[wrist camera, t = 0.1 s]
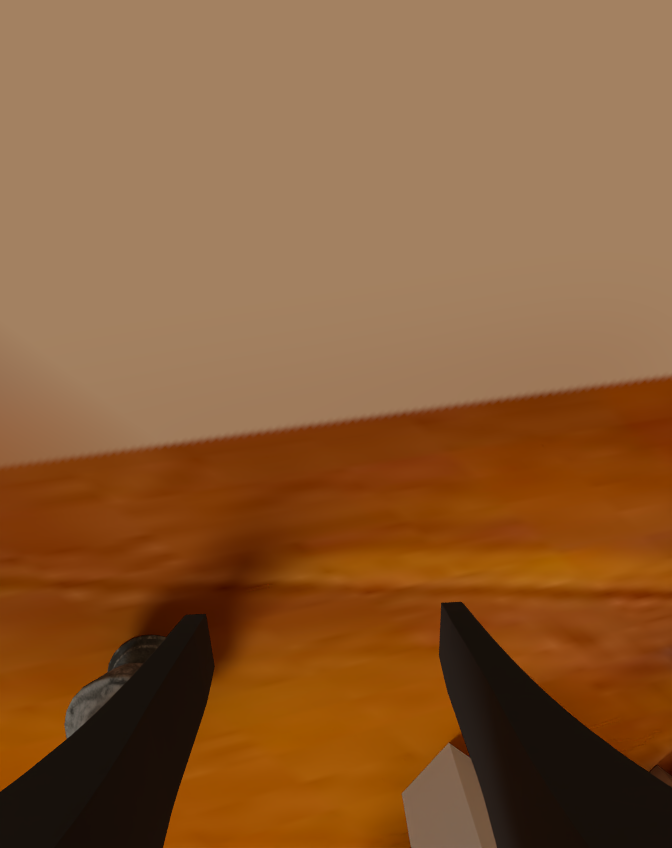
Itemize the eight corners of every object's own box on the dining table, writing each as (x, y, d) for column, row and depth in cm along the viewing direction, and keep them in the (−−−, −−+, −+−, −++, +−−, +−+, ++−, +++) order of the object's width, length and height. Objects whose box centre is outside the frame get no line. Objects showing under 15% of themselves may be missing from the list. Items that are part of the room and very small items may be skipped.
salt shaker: (156, 610, 24) (-20, 857, 12) (224, 681, 24) (123, 981, 12) (82, 670, 24) (-159, 965, 12) (151, 738, 25) (-14, 1080, 13)
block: (456, 830, 26) (493, 967, 20) (401, 792, 26) (423, 921, 20) (503, 781, 26) (555, 906, 20) (448, 742, 25) (485, 858, 19)
